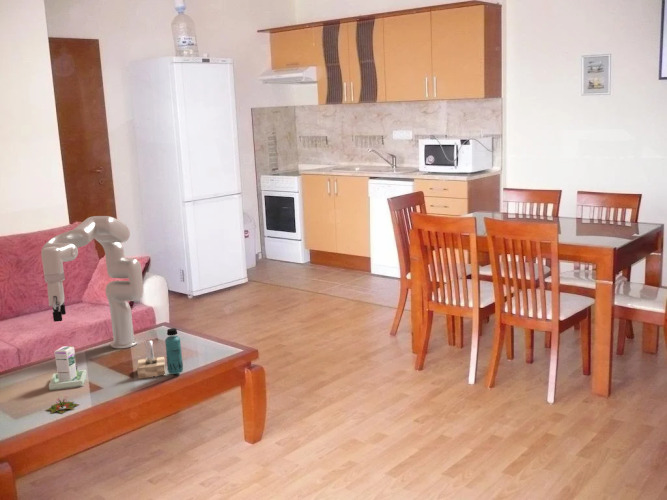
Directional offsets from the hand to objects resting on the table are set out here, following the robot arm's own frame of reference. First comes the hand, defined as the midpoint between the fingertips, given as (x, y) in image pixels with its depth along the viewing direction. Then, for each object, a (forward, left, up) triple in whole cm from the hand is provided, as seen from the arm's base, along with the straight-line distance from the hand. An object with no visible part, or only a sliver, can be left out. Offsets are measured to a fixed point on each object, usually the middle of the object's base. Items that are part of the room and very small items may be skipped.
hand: (59, 317), depth 285 cm
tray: (0, 0, -28) cm, 28 cm away
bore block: (0, +34, -28) cm, 44 cm away
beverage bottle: (+6, +44, -28) cm, 53 cm away
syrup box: (0, 0, -28) cm, 28 cm away
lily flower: (+26, +1, -29) cm, 39 cm away
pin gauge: (0, +34, -28) cm, 44 cm away
